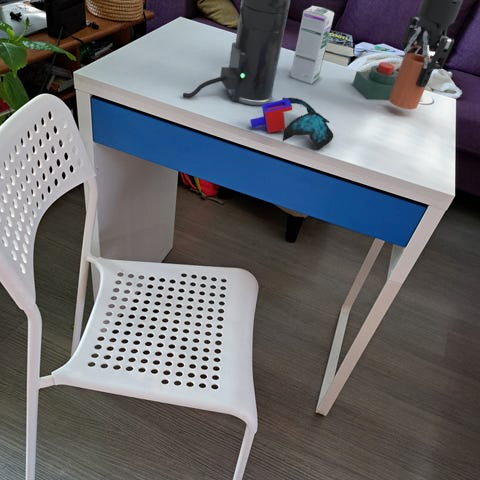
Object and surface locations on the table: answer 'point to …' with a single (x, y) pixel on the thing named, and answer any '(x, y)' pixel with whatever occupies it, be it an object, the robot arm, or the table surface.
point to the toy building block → (273, 115)
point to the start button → (385, 68)
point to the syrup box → (311, 43)
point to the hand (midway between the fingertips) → (411, 79)
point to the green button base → (375, 83)
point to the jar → (408, 82)
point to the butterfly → (309, 126)
